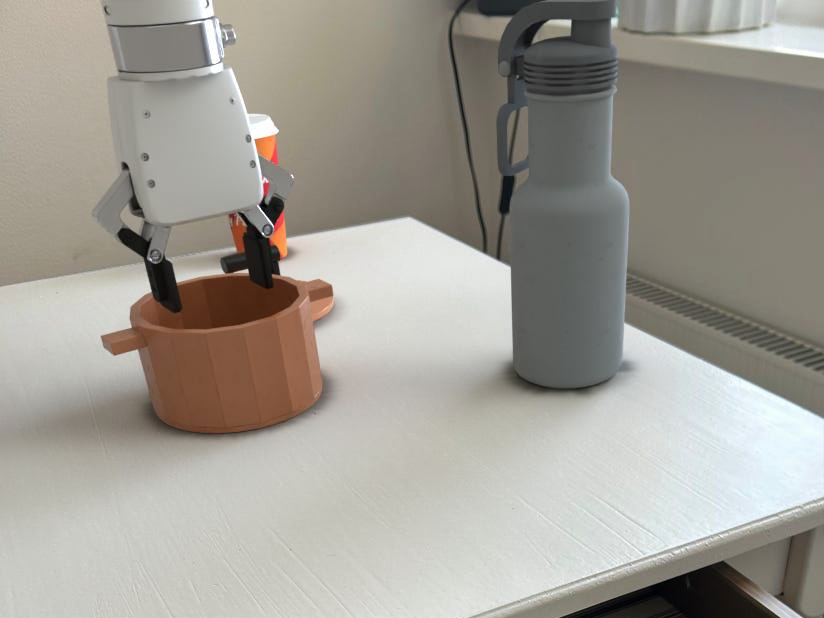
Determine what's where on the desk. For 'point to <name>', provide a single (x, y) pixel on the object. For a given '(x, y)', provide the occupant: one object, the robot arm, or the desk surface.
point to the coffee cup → (268, 149)
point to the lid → (239, 263)
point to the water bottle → (565, 196)
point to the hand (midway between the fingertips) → (217, 295)
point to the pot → (228, 352)
